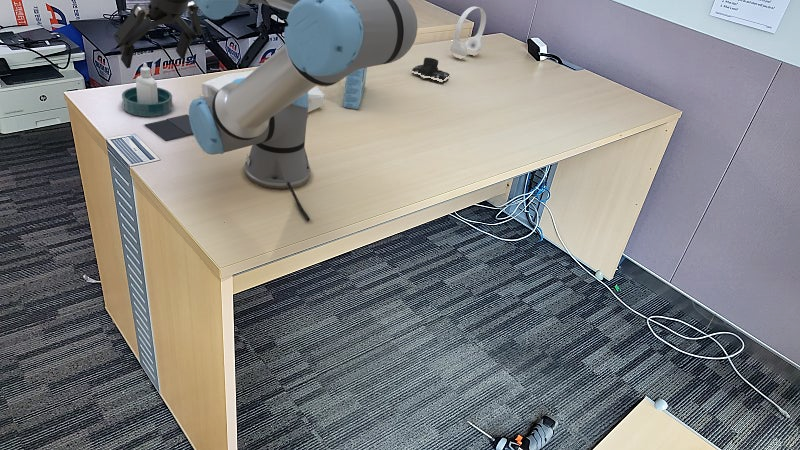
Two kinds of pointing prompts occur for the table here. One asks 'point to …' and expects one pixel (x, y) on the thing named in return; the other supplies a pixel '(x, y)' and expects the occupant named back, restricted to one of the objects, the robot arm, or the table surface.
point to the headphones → (472, 42)
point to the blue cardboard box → (354, 88)
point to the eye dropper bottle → (146, 87)
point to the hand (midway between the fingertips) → (153, 59)
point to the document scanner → (216, 84)
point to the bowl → (147, 109)
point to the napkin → (172, 127)
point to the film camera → (430, 70)
